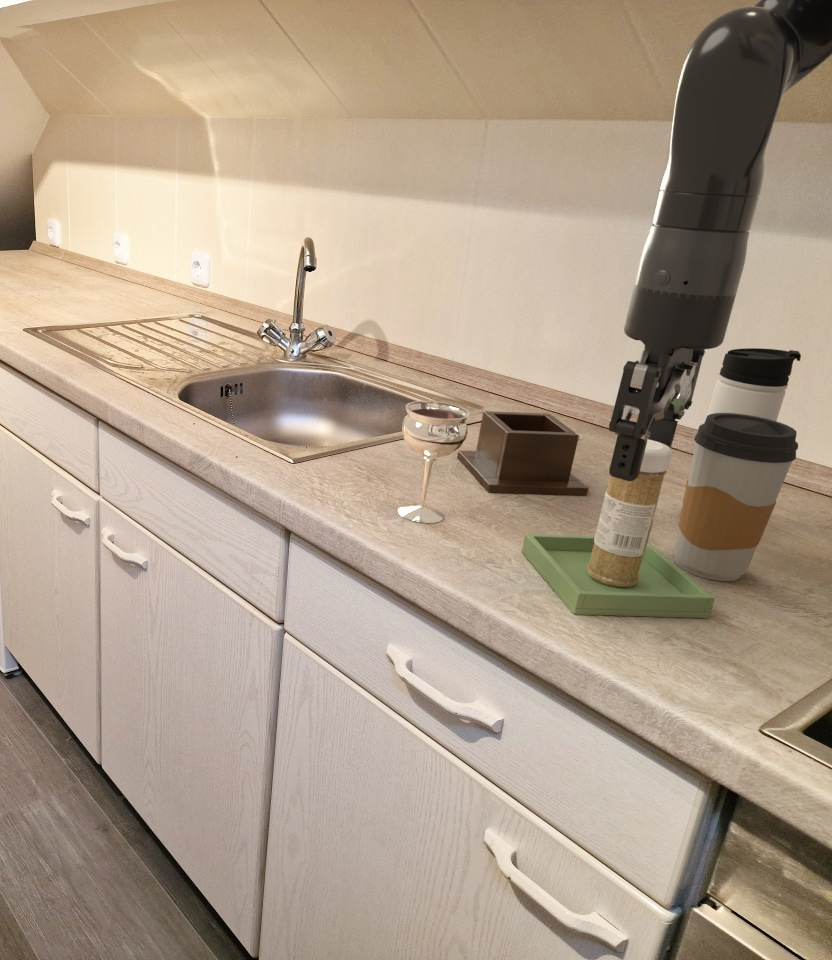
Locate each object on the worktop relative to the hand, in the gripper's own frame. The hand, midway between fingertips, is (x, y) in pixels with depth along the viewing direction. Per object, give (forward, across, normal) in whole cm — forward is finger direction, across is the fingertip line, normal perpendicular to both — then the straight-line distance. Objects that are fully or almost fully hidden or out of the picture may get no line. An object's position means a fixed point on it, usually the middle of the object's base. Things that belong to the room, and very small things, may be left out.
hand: (639, 467), depth 76 cm
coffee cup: (+12, +11, -6) cm, 17 cm away
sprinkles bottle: (+11, 0, 0) cm, 11 cm away
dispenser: (+12, +21, +18) cm, 31 cm away
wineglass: (+12, +1, +21) cm, 24 cm away
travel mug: (+12, +24, -3) cm, 27 cm away
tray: (+12, 0, 0) cm, 12 cm away
